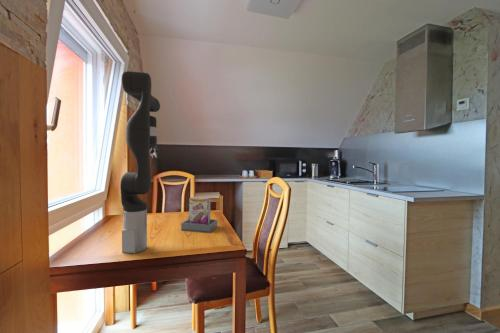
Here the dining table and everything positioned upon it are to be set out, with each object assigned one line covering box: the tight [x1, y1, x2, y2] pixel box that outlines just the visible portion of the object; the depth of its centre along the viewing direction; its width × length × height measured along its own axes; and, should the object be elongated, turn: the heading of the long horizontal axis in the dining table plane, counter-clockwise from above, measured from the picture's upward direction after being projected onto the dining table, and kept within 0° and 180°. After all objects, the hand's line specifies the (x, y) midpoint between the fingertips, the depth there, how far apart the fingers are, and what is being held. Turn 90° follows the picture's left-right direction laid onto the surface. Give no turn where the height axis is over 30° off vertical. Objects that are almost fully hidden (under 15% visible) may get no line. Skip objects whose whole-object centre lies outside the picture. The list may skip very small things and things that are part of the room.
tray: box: [180, 218, 218, 234], centre depth 138 cm, size 12×17×4 cm
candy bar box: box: [188, 196, 211, 225], centre depth 138 cm, size 11×5×16 cm, turn 83°
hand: (149, 165), depth 136 cm, fingers open, 8 cm apart
